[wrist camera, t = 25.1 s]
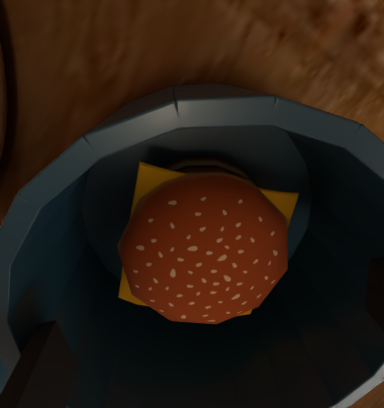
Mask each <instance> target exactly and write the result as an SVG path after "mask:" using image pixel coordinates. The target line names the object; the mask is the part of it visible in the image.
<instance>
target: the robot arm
mask: <svg viewBox="0 0 384 408" xmlns="http://www.w3.org/2000/svg"><path fill="white" fill-rule="evenodd" d="M365 310H366V311H367V312H368V313H369V315H370V316H371V317H372V318H373V319H374V321H375V322H376V323H377V324H378V325H379V327H380V328H381V329H382V330H383V331H384V256H381V257H376V258H371V259H369V269H368V280H367V290H366V301H365ZM78 366H79V363H78V361H77V359H76V357H75V355H74V353H73V351H72V350H71V348H70V346H69V344H68V342H67V340H66V338H65V336H64V335H63V333H62V331H61V329H60V327H59V325H58V323H57V321H56V320H54V321H49V322H44V323H39V324H37V326H36V328H35V330H34V332H33V334H32V335H31V337H30V339H29V341H28V343H27V345H26V347H25V349H24V351H23V352H22V354H21V356H20V358H19V360H18V362H17V364H16V366H15V368H14V370H13V371H12V373H11V375H10V377H9V379H8V381H7V383H6V385H5V387H4V389H3V390H2V392H1V394H0V408H66V405H67V402H68V399H69V395H70V392H71V389H72V386H73V382H74V379H75V376H76V373H77V370H78Z"/></svg>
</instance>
